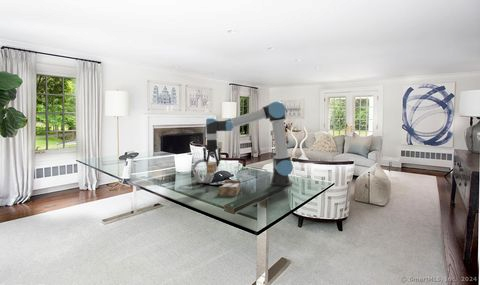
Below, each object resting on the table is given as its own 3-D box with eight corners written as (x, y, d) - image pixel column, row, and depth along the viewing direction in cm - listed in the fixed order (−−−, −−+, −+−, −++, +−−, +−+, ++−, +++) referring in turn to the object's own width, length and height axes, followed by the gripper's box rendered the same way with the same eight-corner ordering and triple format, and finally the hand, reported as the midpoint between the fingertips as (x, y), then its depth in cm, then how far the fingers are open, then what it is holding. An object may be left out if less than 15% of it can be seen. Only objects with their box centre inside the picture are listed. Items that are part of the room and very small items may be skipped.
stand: (240, 188, 200) (240, 180, 199) (236, 195, 180) (236, 187, 180) (225, 187, 202) (224, 180, 201) (219, 195, 182) (218, 186, 181)
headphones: (216, 182, 220) (216, 158, 218) (213, 185, 210) (212, 160, 208) (195, 181, 223) (195, 158, 221) (191, 184, 213) (190, 159, 211)
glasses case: (218, 169, 202) (217, 161, 202) (213, 173, 188) (213, 165, 188) (211, 169, 203) (211, 161, 202) (206, 173, 189) (206, 165, 188)
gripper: (224, 138, 196) (225, 169, 198) (201, 139, 199) (202, 169, 201) (222, 139, 188) (223, 171, 191) (198, 139, 191) (199, 171, 193)
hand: (212, 170), depth 196 cm, fingers closed on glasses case, 5 cm apart
